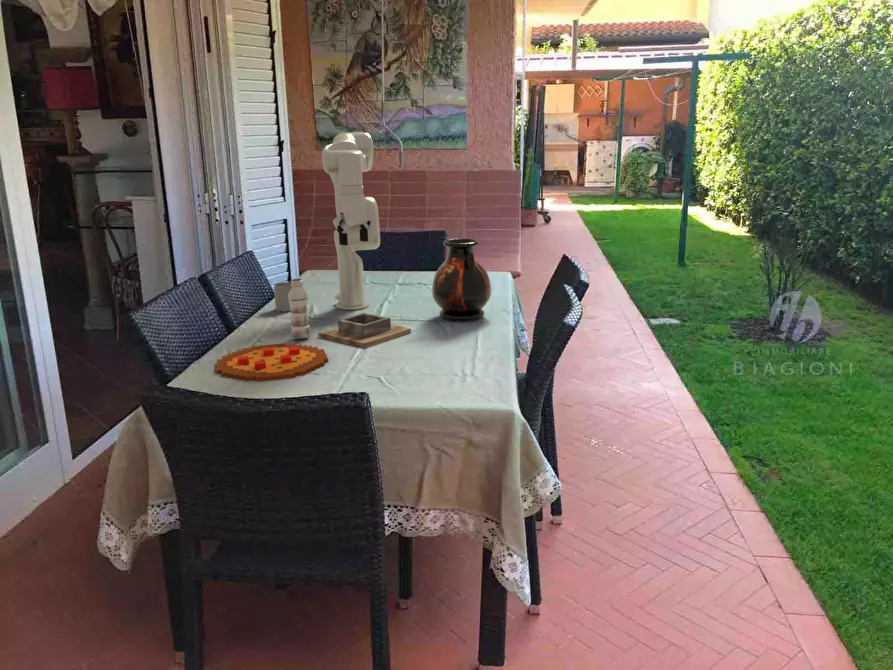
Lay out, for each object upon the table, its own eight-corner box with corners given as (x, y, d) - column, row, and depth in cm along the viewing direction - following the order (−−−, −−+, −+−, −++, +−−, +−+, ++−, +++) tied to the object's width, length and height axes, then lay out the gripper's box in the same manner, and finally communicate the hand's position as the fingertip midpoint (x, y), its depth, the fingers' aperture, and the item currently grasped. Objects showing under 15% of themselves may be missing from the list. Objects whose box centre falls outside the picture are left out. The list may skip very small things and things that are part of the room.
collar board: (318, 336, 245) (317, 321, 244) (365, 323, 261) (364, 308, 260) (364, 347, 232) (364, 331, 230) (410, 332, 248) (410, 317, 247)
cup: (301, 307, 286) (299, 282, 283) (290, 312, 279) (288, 287, 276) (283, 306, 289) (281, 281, 286) (271, 311, 281) (269, 285, 278)
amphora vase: (423, 313, 273) (421, 239, 265) (475, 307, 281) (475, 235, 273) (446, 327, 254) (445, 247, 246) (501, 320, 262) (501, 242, 254)
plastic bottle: (315, 337, 245) (311, 278, 239) (303, 342, 239) (298, 282, 233) (299, 335, 247) (294, 277, 242) (287, 340, 242) (282, 281, 236)
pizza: (333, 374, 209) (332, 364, 208) (216, 387, 200) (215, 376, 199) (319, 344, 238) (319, 335, 237) (217, 354, 229) (216, 345, 229)
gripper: (361, 188, 245) (363, 239, 250) (323, 192, 232) (327, 245, 236) (377, 188, 241) (380, 240, 245) (340, 193, 227) (343, 247, 232)
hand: (354, 243), depth 241 cm, fingers open, 9 cm apart
